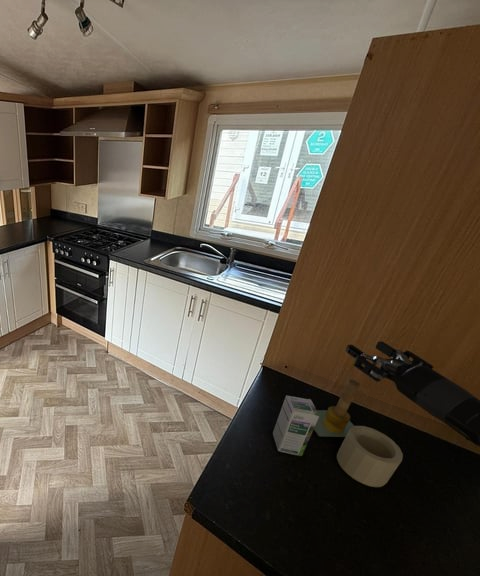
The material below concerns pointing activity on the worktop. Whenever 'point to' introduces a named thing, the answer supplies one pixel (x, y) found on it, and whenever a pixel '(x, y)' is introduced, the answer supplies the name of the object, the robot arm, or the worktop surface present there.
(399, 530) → the worktop surface
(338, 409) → the sponge brush
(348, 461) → the cream tape roll
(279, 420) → the syrup box
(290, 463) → the worktop surface
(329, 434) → the grey hexagonal plate
